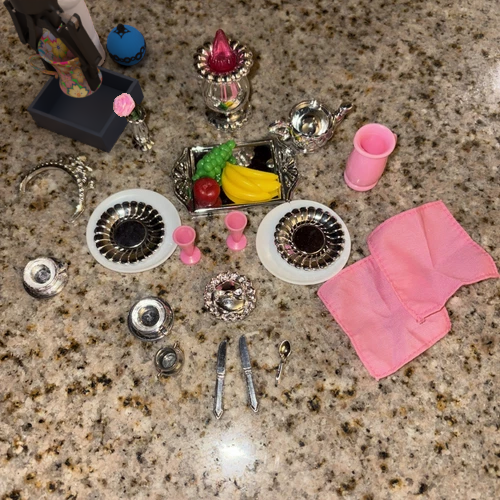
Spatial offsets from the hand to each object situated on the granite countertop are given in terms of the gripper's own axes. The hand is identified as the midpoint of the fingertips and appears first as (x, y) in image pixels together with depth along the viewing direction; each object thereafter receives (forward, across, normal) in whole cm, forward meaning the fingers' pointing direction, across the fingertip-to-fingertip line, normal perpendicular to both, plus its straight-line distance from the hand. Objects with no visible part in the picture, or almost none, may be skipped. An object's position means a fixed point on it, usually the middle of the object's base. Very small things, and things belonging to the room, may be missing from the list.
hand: (75, 78), depth 97 cm
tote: (+10, 0, 0) cm, 10 cm away
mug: (+2, +1, 0) cm, 2 cm away
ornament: (+10, -1, -16) cm, 19 cm away
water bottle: (+10, +8, -12) cm, 18 cm away
